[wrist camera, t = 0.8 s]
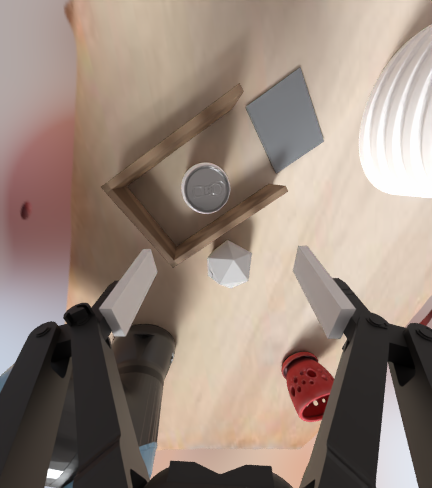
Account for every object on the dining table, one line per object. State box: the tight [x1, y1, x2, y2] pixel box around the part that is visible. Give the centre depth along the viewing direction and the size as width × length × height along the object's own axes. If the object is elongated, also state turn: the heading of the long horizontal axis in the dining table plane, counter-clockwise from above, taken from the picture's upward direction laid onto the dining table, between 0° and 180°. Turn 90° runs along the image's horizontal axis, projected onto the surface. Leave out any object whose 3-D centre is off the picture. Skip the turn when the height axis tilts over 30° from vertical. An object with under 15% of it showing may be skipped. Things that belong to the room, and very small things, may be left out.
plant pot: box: [282, 352, 334, 422], centre depth 50 cm, size 13×13×12 cm
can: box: [181, 163, 230, 214], centre depth 27 cm, size 6×6×12 cm
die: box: [207, 240, 252, 288], centre depth 35 cm, size 8×9×10 cm
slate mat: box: [246, 68, 324, 173], centre depth 31 cm, size 10×12×1 cm
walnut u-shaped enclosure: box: [101, 83, 288, 267], centre depth 30 cm, size 23×16×6 cm
